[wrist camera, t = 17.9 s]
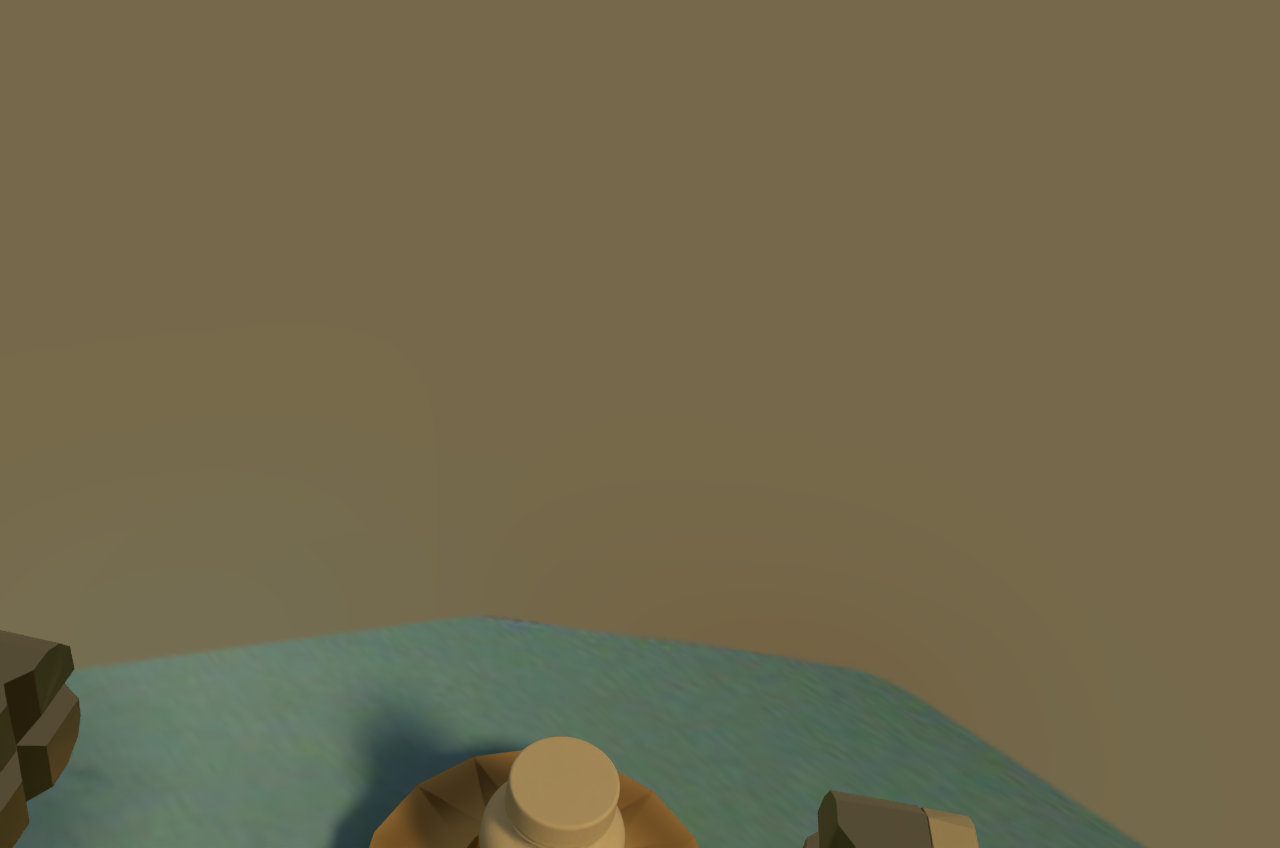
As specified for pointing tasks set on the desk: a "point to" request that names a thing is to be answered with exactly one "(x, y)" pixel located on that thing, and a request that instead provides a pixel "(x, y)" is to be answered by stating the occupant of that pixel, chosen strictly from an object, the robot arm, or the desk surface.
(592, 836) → the supplement bottle
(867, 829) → the robot arm
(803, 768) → the desk surface
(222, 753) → the desk surface
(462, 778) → the plain brown donut
